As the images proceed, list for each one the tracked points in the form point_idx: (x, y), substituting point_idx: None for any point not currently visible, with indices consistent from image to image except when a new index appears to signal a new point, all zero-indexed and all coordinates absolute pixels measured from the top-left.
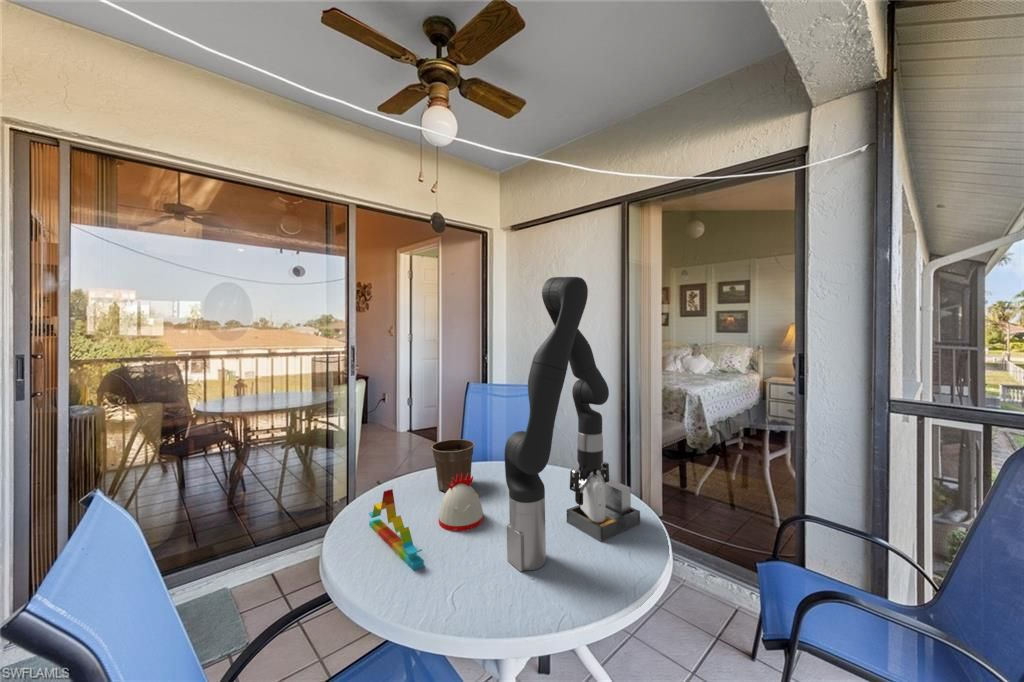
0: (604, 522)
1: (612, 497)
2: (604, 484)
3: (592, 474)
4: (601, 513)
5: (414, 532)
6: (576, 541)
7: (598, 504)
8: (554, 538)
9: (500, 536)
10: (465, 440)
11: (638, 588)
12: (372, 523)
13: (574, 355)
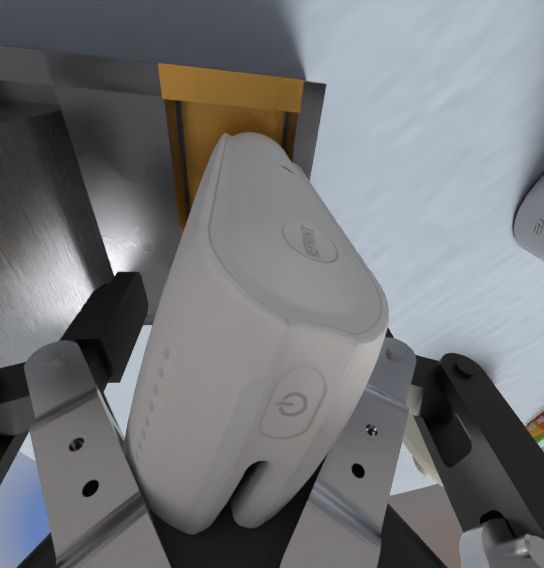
0: (182, 172)
1: (27, 241)
2: (51, 348)
3: (300, 566)
4: (266, 145)
5: (521, 405)
6: (373, 171)
7: (300, 180)
8: (400, 241)
9: (468, 329)
10: None
11: None
12: (539, 441)
13: None
